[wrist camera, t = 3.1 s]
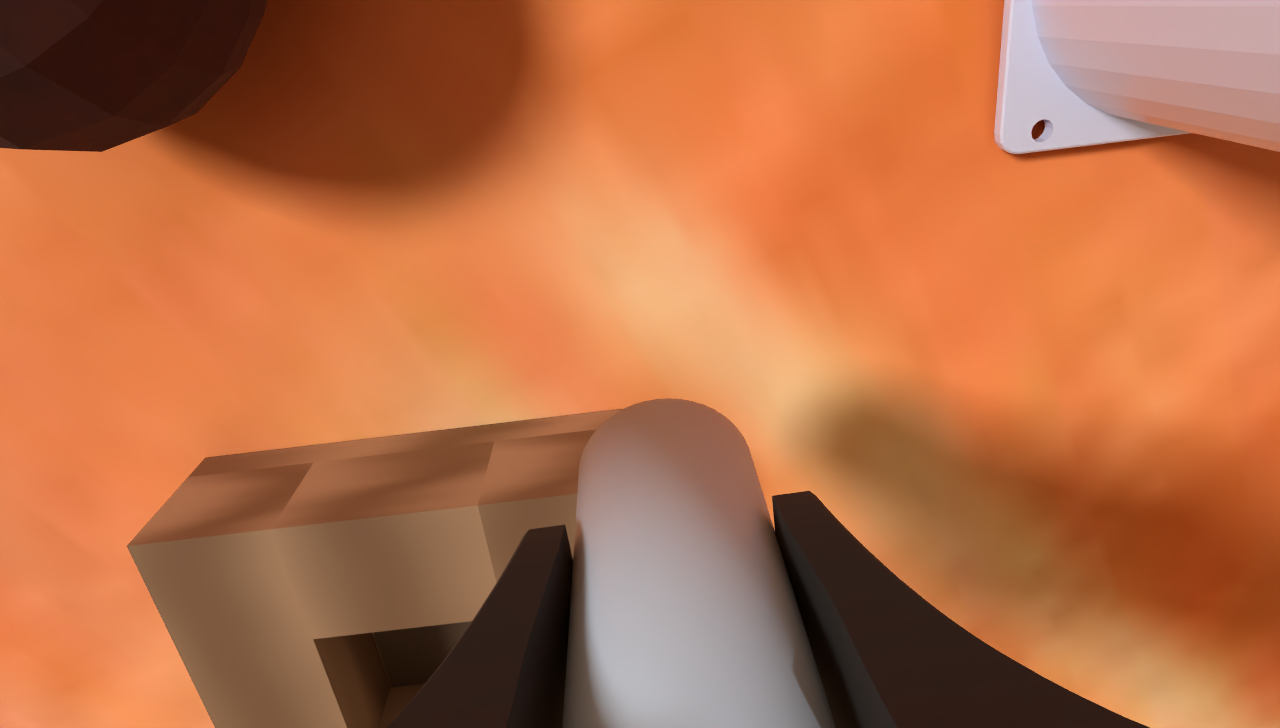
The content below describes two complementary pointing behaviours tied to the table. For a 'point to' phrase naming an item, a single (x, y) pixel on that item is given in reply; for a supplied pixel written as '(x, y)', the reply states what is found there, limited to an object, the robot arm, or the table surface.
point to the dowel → (681, 584)
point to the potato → (113, 66)
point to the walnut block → (348, 563)
